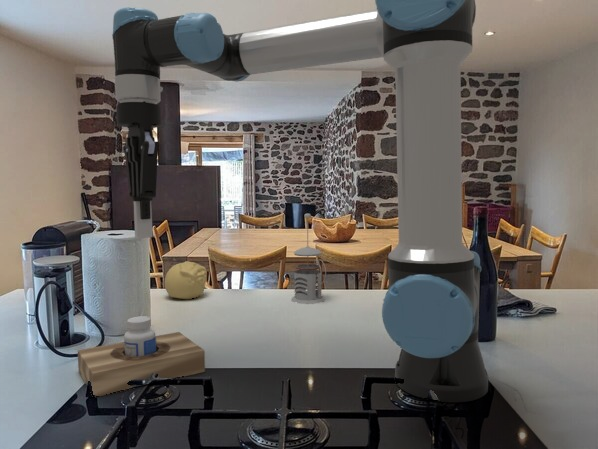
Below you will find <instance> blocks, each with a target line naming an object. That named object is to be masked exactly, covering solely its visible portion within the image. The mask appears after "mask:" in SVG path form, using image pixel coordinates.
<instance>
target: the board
mask: <svg viewBox="0 0 598 449" xmlns="http://www.w3.org/2000/svg"><path fill="white" fill-rule="evenodd" d="M155 336H156V352H155V353H152V354H150V355H145V356H127V355H125V345H124V341H122V342H115V343H110V344H105V345H98V346H94V347H87V348H83V349H78V350H77V363H78V364H77V367H78V373H79V375H80V377H81V378H82V380H83V381H84V384H85V385H86V384H87V382H88V381H90V382H91V386H92V391H93V395H96V396H99V397H102V396H107V395H111V394H110V393H112V394H114V393H113V392H116V391H120V390H124V391H126V390H125V389H129V388H132V387H133V386H130V385H128V384H127V383H128V382H129V381H131V380H134V379H146V378H147V377H149V376H150V375H151V374H152V373H157V374H158V377H161V378H171V377H180V378H183V377H182V376H184V377H187V376H192V375H196V374H201V373H204V372H206V366H205V364H206V362H205V361H206V360H205V358H206V357H205V355H206V354H205V349H204V348H203V347H201V346H199V344H196V343H195V342H194V341H192V340H191V339H189V338H188V337H187V336H185V335H184V334H183V333H181V332H180V331H177V332H171V333H166V334H158V335H155ZM129 390H130V389H129ZM120 392H121V391H120ZM116 393H117V392H116ZM106 394H107V395H106Z"/></svg>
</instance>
